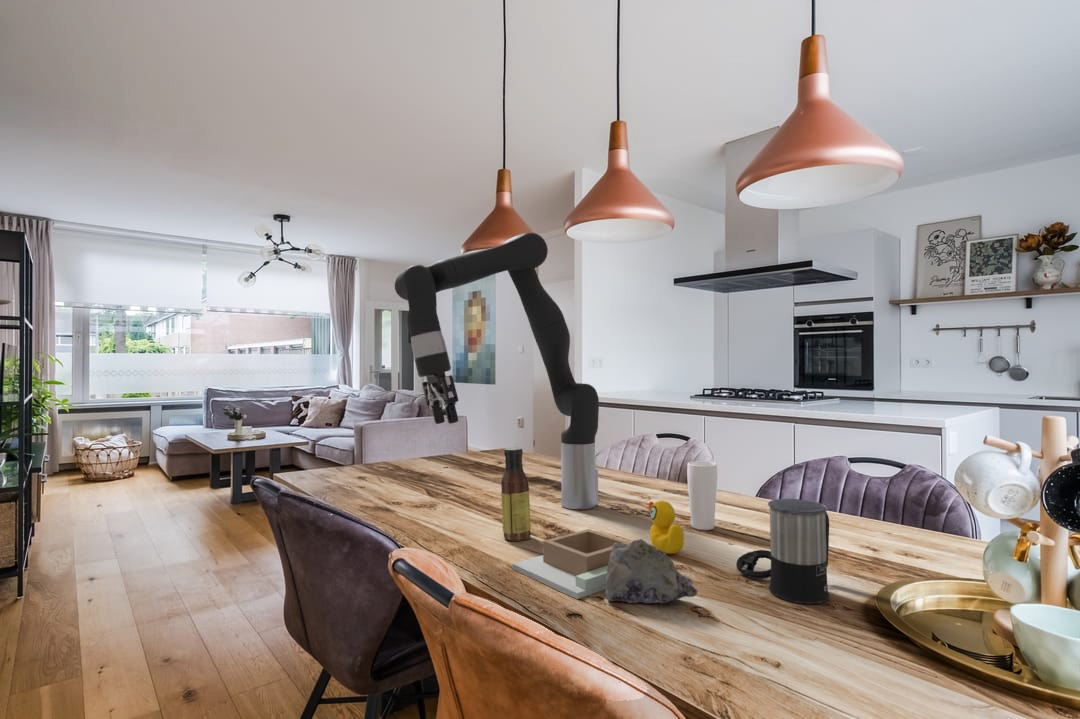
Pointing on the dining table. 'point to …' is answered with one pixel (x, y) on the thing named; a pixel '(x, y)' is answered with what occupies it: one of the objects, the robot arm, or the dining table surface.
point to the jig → (572, 563)
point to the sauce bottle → (515, 497)
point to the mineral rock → (644, 575)
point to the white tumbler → (702, 493)
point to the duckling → (665, 528)
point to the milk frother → (794, 552)
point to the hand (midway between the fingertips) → (446, 423)
